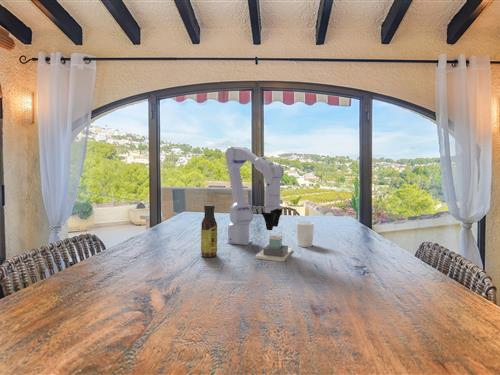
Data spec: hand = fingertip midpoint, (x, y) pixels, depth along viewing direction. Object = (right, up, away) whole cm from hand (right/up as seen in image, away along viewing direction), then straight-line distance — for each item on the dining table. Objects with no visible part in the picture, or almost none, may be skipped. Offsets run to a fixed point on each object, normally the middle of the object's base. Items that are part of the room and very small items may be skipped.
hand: (272, 228), depth 124 cm
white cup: (+15, -10, +12) cm, 22 cm away
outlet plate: (+1, -10, -3) cm, 10 cm away
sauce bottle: (-25, -10, -5) cm, 27 cm away
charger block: (+1, -9, -5) cm, 10 cm away
